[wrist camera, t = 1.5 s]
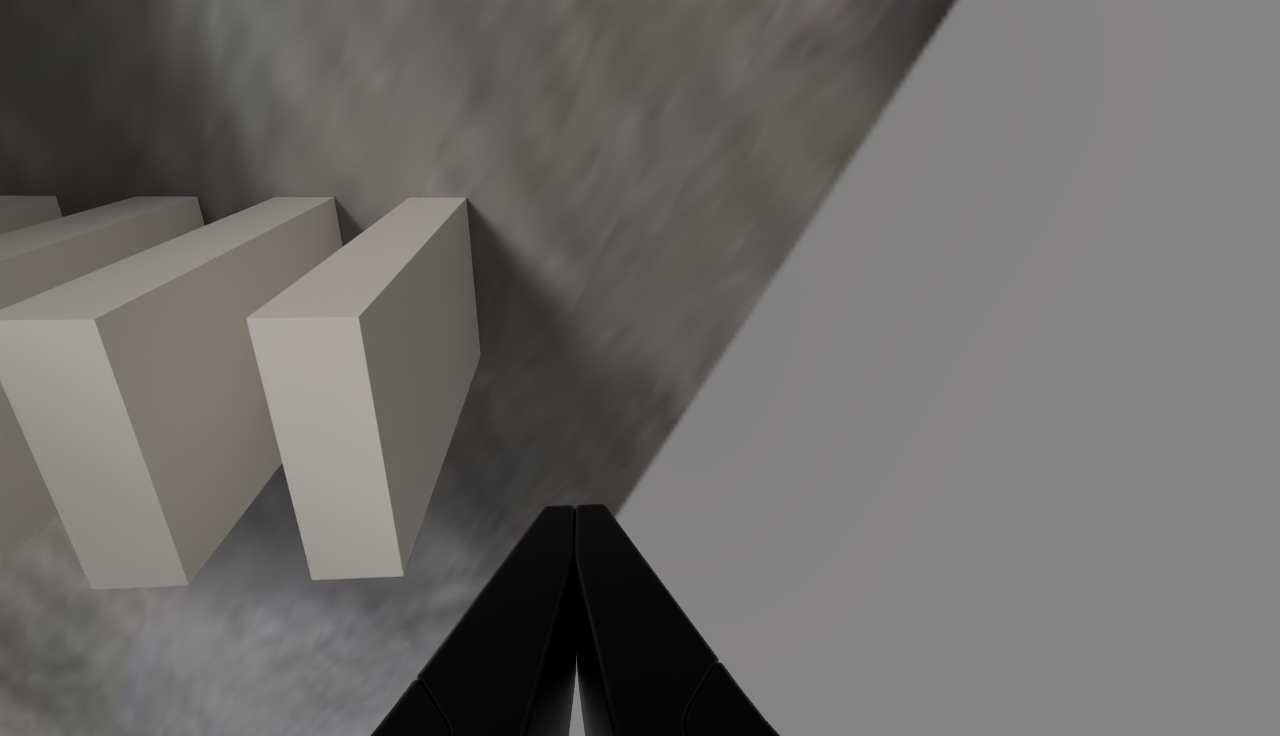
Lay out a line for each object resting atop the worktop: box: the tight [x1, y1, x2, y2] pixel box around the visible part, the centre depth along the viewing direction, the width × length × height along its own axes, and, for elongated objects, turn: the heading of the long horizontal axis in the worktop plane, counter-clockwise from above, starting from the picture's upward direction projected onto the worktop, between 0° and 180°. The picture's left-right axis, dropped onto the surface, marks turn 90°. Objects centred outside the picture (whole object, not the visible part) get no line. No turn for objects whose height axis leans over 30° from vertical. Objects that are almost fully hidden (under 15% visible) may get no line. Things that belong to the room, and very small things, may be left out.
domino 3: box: [246, 198, 481, 580], centre depth 15 cm, size 2×5×10 cm, turn 179°
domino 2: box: [0, 197, 343, 590], centre depth 15 cm, size 2×5×10 cm, turn 179°
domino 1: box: [0, 196, 205, 563], centre depth 14 cm, size 2×5×10 cm, turn 179°
